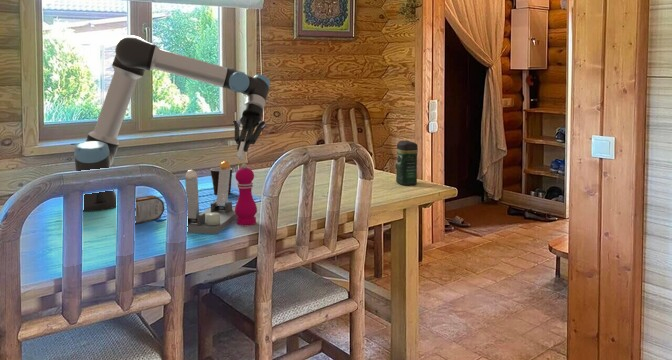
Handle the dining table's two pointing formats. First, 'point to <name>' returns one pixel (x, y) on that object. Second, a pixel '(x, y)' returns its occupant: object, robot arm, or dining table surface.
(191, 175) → the toggle lever ivory
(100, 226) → the dining table surface
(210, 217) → the push button
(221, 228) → the switch panel
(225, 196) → the toggle lever orange
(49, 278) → the dining table surface
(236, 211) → the pepper mill
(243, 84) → the robot arm
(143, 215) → the tin
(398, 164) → the coffee jar
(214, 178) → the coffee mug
